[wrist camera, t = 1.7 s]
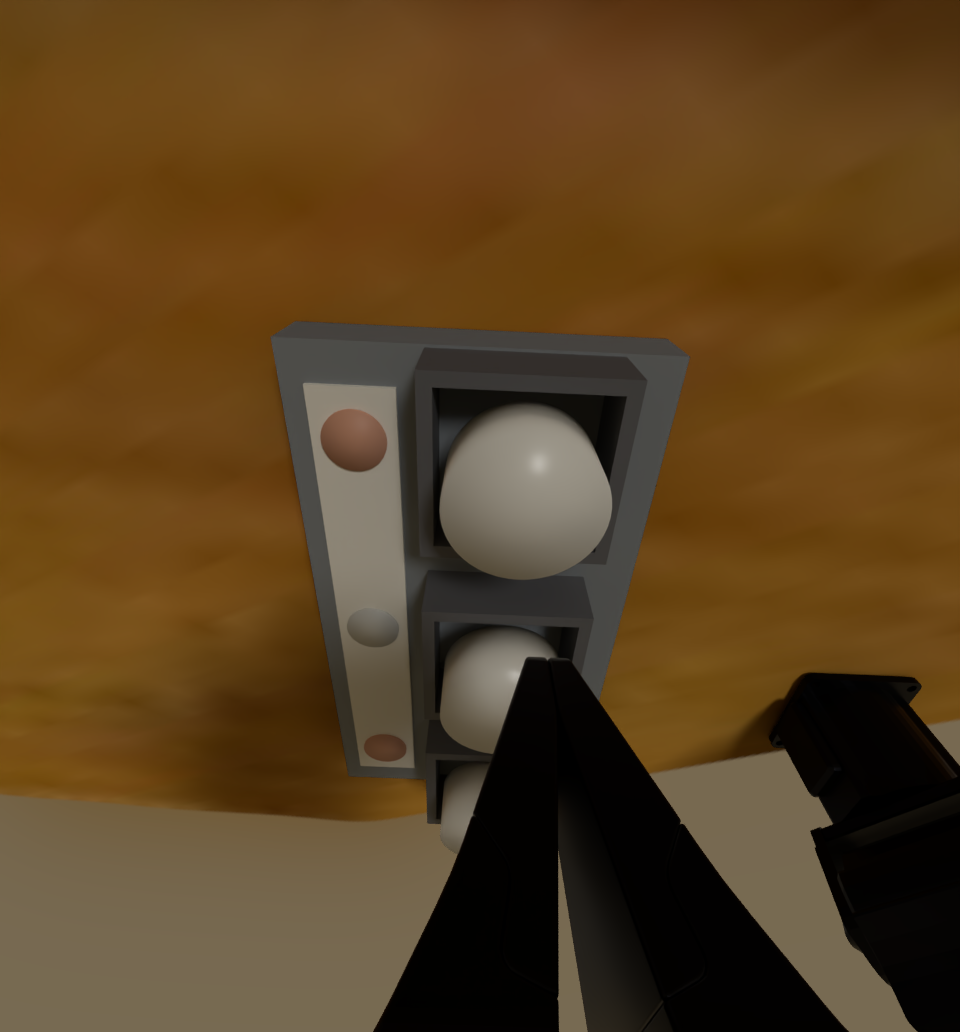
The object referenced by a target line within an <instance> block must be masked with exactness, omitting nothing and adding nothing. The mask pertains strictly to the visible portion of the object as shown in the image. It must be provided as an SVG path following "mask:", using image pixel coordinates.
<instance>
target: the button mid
mask: <svg viewBox="0 0 960 1032" xmlns="http://www.w3.org/2000/svg"><path fill="white" fill-rule="evenodd" d="M527 657H545V658H546V659H547V661H548V659H549V658H559V657H558V654H557V652H556V650H555V648H554V647H553V646H552V644H551V643H550V642H549V641H548V640H547V639H545V638H544V637H542V636H541V635H539V634H537V633H536V632H533V631H531V630H528V629H525V628H521V627H516V626H507V625H497V626H489V627H484V628H480V629H477V630H474V631H472V632H469V633H467V634H466V635H464V636H462V637H461V638H459V639H458V640H457V641H456V642H455V643H454V644H453V645H452V646H451V648H450V649H449V651H448V653H447V655H446V658H445V666H444V676H443V687H442V697H441V708H440V720H441V723H442V726H443V728H444V730H445V731H446V732H447V734H448V735H449V736H450V737H451V738H452V739H454V740H455V741H457V742H458V743H460V744H461V745H463V746H465V747H468V748H470V749H473V750H476V751H480V752H484V753H490V754H493V752H494V749H495V746H496V743H497V741H498V738H499V735H500V732H501V729H502V726H503V723H504V720H505V717H506V714H507V711H508V708H509V705H510V702H511V699H512V697H513V694H514V691H515V688H516V685H517V682H518V679H519V676H520V673H521V670H522V667H523V664H524V661H525V659H526V658H527Z"/></svg>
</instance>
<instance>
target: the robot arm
mask: <svg viewBox="0 0 960 1032" xmlns="http://www.w3.org/2000/svg"><path fill="white" fill-rule="evenodd" d="M921 687H922V686H921V684H920V683H919V682H918V681H917V680H916V679H915V678H912V677H892V676H868V675H844V674H819V673H814V674H809V675H807V676H805V677H804V679H803V680H802V682H801V684H800V685H799V687H798V689H797V690H796V692H795V694H794V695H793V697H792V699H791V701H790V702H789V704H788V706H787V707H786V709H785V711H784V712H783V714H782V716H781V718H780V719H779V721H778V723H777V724H776V726H775V728H774V730H773V731H772V733H771V735H770V736H769V740H770V742H771V744H772V746H773V747H776V748H785V749H786V751H787V752H788V754H789V756H790V758H791V760H792V762H793V764H794V766H795V768H796V769H797V771H798V773H799V775H800V777H801V779H802V781H803V782H804V784H805V786H806V788H807V790H808V792H809V793H810V794H811V795H812V796H813V797H819V799H820V801H821V803H822V805H823V806H824V808H825V810H826V812H827V814H828V815H829V817H830V819H831V821H832V823H833V825H830V826H828V827H825V828H821V827H819V828H817V829H814V830H811V831H810V832H811V835H812V837H813V840H814V843H815V845H816V848H815V850H816V853H817V856H818V858H819V861H820V864H821V866H822V869H823V871H824V874H825V877H826V879H827V882H828V885H829V887H830V890H831V892H832V895H833V898H834V901H835V903H836V906H837V908H838V911H839V914H840V916H841V919H842V922H843V926H844V931H845V934H846V937H847V939H848V941H849V942H850V944H851V945H852V946H853V947H854V948H855V949H857V950H859V951H860V952H862V953H863V954H864V956H865V957H866V958H867V960H868V961H869V963H870V964H871V966H872V967H873V968H874V969H875V971H876V972H877V973H878V975H879V976H880V977H881V978H882V979H883V980H884V981H885V982H886V983H887V984H888V985H890V986H891V987H892V989H893V991H894V993H895V995H896V997H897V1000H898V1001H899V1003H900V1006H901V1008H902V1010H903V1012H904V1014H905V1017H906V1018H907V1020H908V1022H909V1023H910V1024H911V1025H912V1026H913V1027H914V1029H915V1030H916V1031H918V1032H960V766H959V764H958V763H957V762H956V761H955V760H954V758H953V757H952V756H951V755H950V754H949V752H948V751H947V750H946V749H945V748H944V747H943V745H942V744H941V743H940V742H939V740H938V739H937V738H936V737H935V736H934V734H933V733H932V732H931V731H930V730H929V728H928V727H927V726H926V725H925V724H924V722H923V721H922V720H921V719H920V718H919V716H918V715H917V714H916V713H915V711H914V710H913V709H912V708H911V707H910V705H909V703H910V702H911V701H912V699H913V698H914V697H915V696H916V694H917V693H918V692H919V691H920V689H921ZM680 822H681V821H680V818H679V817H678V816H677V814H676V812H675V811H674V809H673V808H672V807H671V805H670V804H669V802H668V801H667V799H666V798H665V796H664V795H663V794H662V792H661V791H660V789H659V788H658V786H657V785H656V783H655V782H654V780H653V779H652V778H651V776H650V775H649V773H648V772H647V770H646V769H645V767H644V766H643V764H642V763H641V762H640V760H639V759H638V757H637V756H636V754H635V753H634V751H633V750H632V749H631V747H630V746H629V744H628V743H627V741H626V740H625V738H624V737H623V735H622V734H621V733H620V731H619V730H618V728H617V727H616V725H615V724H614V722H613V721H612V720H611V718H610V717H609V715H608V714H607V712H606V711H605V709H604V708H603V706H602V705H601V704H600V702H599V701H598V699H597V698H596V696H595V695H594V693H593V692H592V691H591V689H590V688H589V686H588V685H587V683H586V682H585V680H584V679H583V677H582V676H581V675H580V673H579V672H578V670H577V669H576V667H575V666H574V664H573V663H572V662H571V660H569V659H568V658H549V659H548V661H547V659H546V658H545V657H527V658H526V659H525V661H524V664H523V667H522V670H521V673H520V676H519V679H518V682H517V685H516V688H515V691H514V694H513V697H512V699H511V702H510V705H509V708H508V711H507V714H506V717H505V720H504V723H503V726H502V729H501V732H500V735H499V738H498V741H497V743H496V746H495V749H494V752H493V755H492V758H491V761H490V764H489V767H488V770H487V773H486V776H485V779H484V782H483V784H482V787H481V790H480V793H479V796H478V799H477V802H476V805H475V808H474V811H473V816H472V817H471V819H470V822H469V825H468V828H467V831H466V833H465V836H464V839H463V842H462V845H461V847H460V850H459V853H458V855H457V858H456V860H455V863H454V866H453V868H452V871H451V873H450V876H449V878H448V880H447V882H446V884H445V886H444V889H443V891H442V893H441V895H440V898H439V900H438V902H437V904H436V906H435V908H434V911H433V913H432V915H431V917H430V919H429V921H428V923H427V925H426V927H425V929H424V931H423V933H422V935H421V937H420V939H419V941H418V944H417V945H416V947H415V949H414V952H413V954H412V956H411V958H410V960H409V962H408V964H407V966H406V968H405V970H404V972H403V974H402V976H401V978H400V980H399V982H398V984H397V987H396V989H395V991H394V993H393V995H392V997H391V999H390V1001H389V1003H388V1005H387V1006H386V1009H385V1010H384V1012H383V1014H382V1016H381V1018H380V1020H379V1022H378V1024H377V1025H376V1027H375V1029H374V1031H373V1032H559V1014H558V1013H559V1011H558V1009H559V1007H558V1000H557V998H558V994H559V993H558V991H559V989H558V851H559V857H560V863H561V869H562V875H563V881H564V888H565V894H566V899H567V906H568V911H569V919H570V924H571V930H572V937H573V943H574V949H575V956H576V962H577V968H578V974H579V980H580V986H581V993H582V999H583V1004H584V1011H585V1017H586V1024H587V1030H588V1032H849V1031H848V1030H847V1029H846V1028H845V1027H844V1026H843V1025H842V1024H841V1023H840V1022H839V1021H838V1019H837V1018H836V1017H835V1016H834V1015H833V1014H832V1012H831V1011H830V1010H829V1009H828V1008H827V1007H826V1005H825V1004H824V1003H823V1002H822V1000H821V999H820V998H819V997H818V996H817V995H816V993H815V992H814V991H813V990H812V988H811V987H810V986H809V985H808V983H807V982H806V981H805V980H804V979H803V978H802V976H801V975H800V974H799V973H798V971H797V970H796V969H795V968H794V966H793V965H792V964H791V963H790V962H789V960H788V959H787V958H786V957H785V956H784V954H783V953H782V952H781V951H780V949H779V948H778V947H777V946H776V945H775V943H774V942H773V941H772V940H771V938H769V936H768V935H767V934H766V932H765V931H764V930H763V929H762V928H761V926H760V925H759V924H758V923H757V921H756V920H755V919H754V918H753V917H752V916H751V914H750V913H749V912H748V910H747V909H746V908H745V907H744V905H743V904H742V903H741V901H740V900H739V899H738V898H737V896H736V895H735V894H734V893H733V892H732V890H731V889H730V888H729V886H728V885H727V884H726V883H725V881H724V880H723V879H722V877H721V876H720V875H719V873H718V872H717V870H716V869H715V868H714V866H713V865H712V864H711V862H710V861H709V859H708V858H707V857H706V855H705V854H704V853H703V851H702V850H701V848H700V847H699V846H698V844H697V843H696V841H695V840H694V838H693V837H692V835H691V834H690V833H689V831H688V830H687V828H686V826H685V825H684V824H680Z"/></svg>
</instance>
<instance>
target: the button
mask: <svg viewBox="0 0 960 1032" xmlns="http://www.w3.org/2000/svg"><path fill="white" fill-rule="evenodd" d="M439 510H440V520H441V525H442V529H443V531H444V534H445V536H446V538H447V540H448V541H449V543H450V545H451V546H452V547H453V549H454V550H455V551H456V553H458V554H459V555H460V556H461V557H462V558H463V559H464V560H465V561H466V562H468V563H469V564H470V565H472V566H474V567H475V568H477V569H479V570H481V571H483V572H486V573H488V574H491V575H494V576H497V577H502V578H507V579H516V580H530V579H539V578H543V577H548V576H551V575H554V574H558V573H560V572H562V571H565V570H567V569H569V568H571V567H572V566H574V565H576V564H577V563H579V562H580V561H581V560H583V559H584V558H585V557H587V556H588V555H589V554H590V553H591V552H592V551H593V550H594V548H595V547H596V546H597V545H598V544H599V542H600V541H601V539H602V537H603V536H604V534H605V532H606V530H607V528H608V525H609V521H610V518H611V512H612V495H611V489H610V486H609V483H608V480H607V477H606V475H605V473H604V470H603V468H602V466H601V463H600V461H599V458H598V456H597V454H596V451H595V449H594V447H593V444H592V442H591V440H590V438H589V436H588V434H587V433H586V431H585V430H584V429H583V427H582V426H581V425H580V424H579V423H578V422H577V421H576V420H575V419H574V418H572V417H571V416H570V415H569V414H567V413H566V412H564V411H562V410H560V409H558V408H556V407H553V406H551V405H548V404H544V403H540V402H533V401H515V402H508V403H503V404H500V405H496V406H494V407H491V408H489V409H487V410H485V411H483V412H481V413H480V414H478V415H476V416H475V417H474V418H472V419H471V420H470V421H469V422H468V423H467V424H466V425H465V426H464V427H463V428H462V429H461V430H460V432H459V433H458V434H457V436H456V437H455V439H454V441H453V443H452V445H451V447H450V450H449V452H448V457H447V461H446V467H445V473H444V479H443V486H442V492H441V498H440V509H439Z"/></svg>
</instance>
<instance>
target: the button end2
mask: <svg viewBox="0 0 960 1032" xmlns="http://www.w3.org/2000/svg"><path fill="white" fill-rule="evenodd" d="M489 764H490V762H484V761H473V762H469V763H466V764H463V765H461V766H459V767H457V768H455V769H454V770H452V771H451V772H450V773H449V774H448V775H447V777H446V778H445V781H444V790H443V803H442V816H441V829H440V830H441V831H440V838H441V841H442V842H443V844H444V845H445V846H446V847H447V848H448V849H449V850H451V851H452V852H454V853H456V854H458V853H459V850H460V847H461V845H462V842H463V839H464V836H465V833H466V831H467V828H468V825H469V822H470V819H471V817H472V816H473V811H474V808H475V805H476V802H477V799H478V796H479V793H480V790H481V787H482V784H483V782H484V779H485V776H486V773H487V770H488V767H489Z"/></svg>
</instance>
